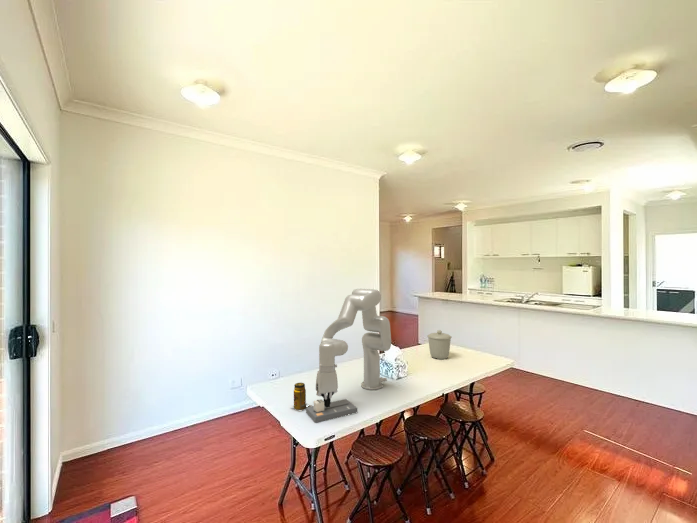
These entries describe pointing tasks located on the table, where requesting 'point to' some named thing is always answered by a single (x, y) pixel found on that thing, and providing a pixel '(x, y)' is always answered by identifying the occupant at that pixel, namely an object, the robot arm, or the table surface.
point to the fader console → (332, 411)
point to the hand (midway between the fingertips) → (327, 406)
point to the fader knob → (319, 405)
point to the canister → (439, 344)
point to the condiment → (300, 396)
